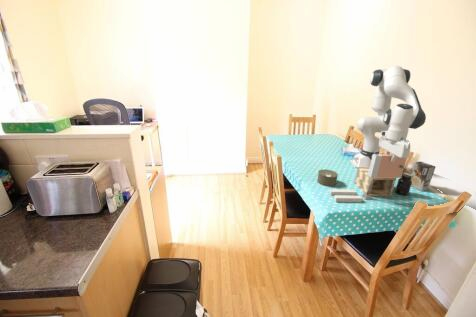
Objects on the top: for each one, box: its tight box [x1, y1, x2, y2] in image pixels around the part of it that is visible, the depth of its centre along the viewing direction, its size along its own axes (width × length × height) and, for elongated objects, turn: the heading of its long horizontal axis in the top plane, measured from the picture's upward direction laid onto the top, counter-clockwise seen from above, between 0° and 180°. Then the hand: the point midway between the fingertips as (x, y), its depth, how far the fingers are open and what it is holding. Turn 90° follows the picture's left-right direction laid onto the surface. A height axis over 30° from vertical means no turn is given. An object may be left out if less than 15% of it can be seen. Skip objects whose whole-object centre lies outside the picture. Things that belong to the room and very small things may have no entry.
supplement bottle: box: [394, 173, 412, 196], centre depth 137 cm, size 7×7×12 cm
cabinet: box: [354, 167, 397, 200], centre depth 139 cm, size 20×17×12 cm
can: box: [317, 169, 339, 187], centre depth 150 cm, size 12×12×7 cm
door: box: [368, 153, 408, 179], centre depth 126 cm, size 4×17×13 cm, turn 90°
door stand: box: [328, 188, 364, 203], centre depth 133 cm, size 10×15×2 cm, turn 90°
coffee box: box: [410, 161, 436, 192], centre depth 144 cm, size 9×6×16 cm
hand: (389, 160), depth 125 cm, fingers closed on door, 2 cm apart
